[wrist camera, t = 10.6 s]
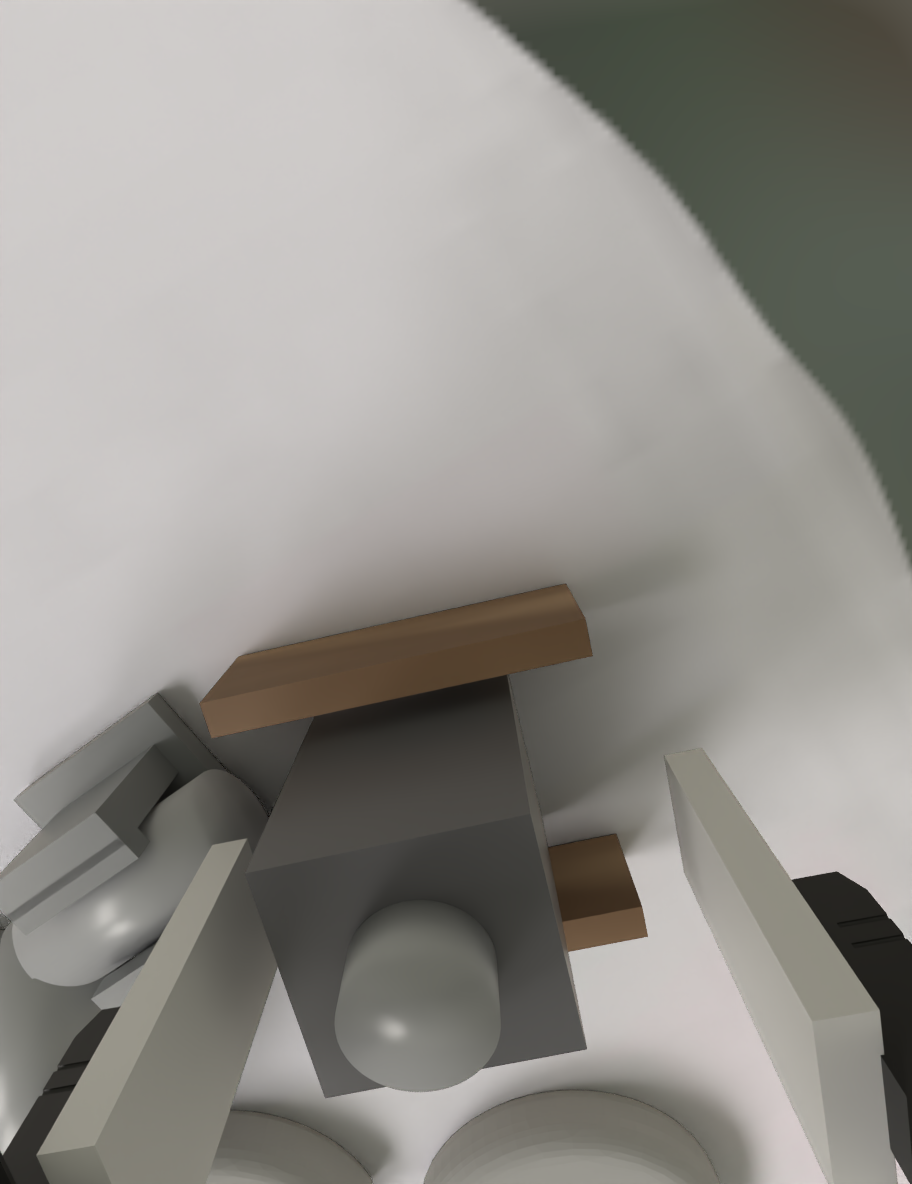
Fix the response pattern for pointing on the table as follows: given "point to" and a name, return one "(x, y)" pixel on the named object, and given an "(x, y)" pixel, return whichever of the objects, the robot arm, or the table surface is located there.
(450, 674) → the end holder
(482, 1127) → the holder
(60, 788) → the clip
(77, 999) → the clip
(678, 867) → the table surface
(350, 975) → the block
